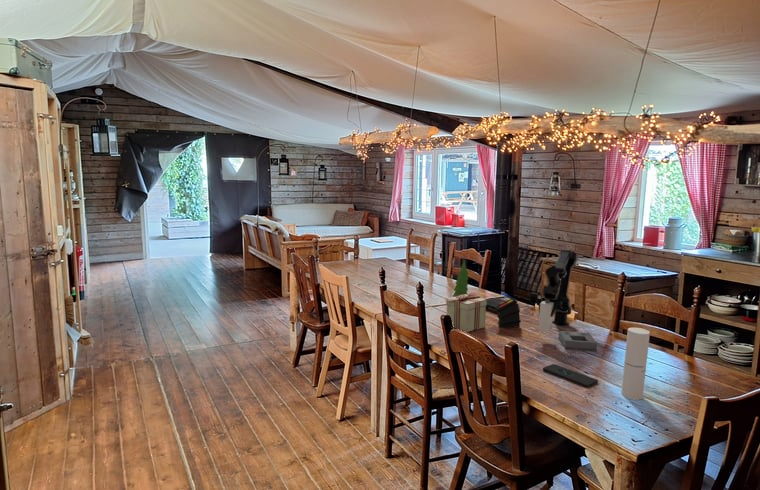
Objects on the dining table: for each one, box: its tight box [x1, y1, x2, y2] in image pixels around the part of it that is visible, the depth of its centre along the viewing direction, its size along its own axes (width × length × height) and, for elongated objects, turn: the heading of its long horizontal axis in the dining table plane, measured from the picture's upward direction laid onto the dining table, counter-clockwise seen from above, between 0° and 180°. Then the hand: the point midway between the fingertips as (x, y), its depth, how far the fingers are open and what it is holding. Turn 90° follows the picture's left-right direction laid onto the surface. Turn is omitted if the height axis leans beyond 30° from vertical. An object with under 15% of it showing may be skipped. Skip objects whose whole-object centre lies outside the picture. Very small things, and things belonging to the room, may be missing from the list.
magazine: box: [495, 297, 522, 329], centre depth 262 cm, size 4×13×15 cm, turn 103°
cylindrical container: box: [620, 327, 651, 401], centre depth 184 cm, size 7×7×25 cm
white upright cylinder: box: [537, 299, 554, 332], centre depth 241 cm, size 5×5×15 cm
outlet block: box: [558, 330, 598, 352], centre depth 238 cm, size 14×14×4 cm
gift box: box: [444, 292, 488, 333], centre depth 261 cm, size 17×18×17 cm
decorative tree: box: [452, 259, 469, 297], centre depth 290 cm, size 10×9×30 cm
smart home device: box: [542, 363, 599, 389], centre depth 202 cm, size 8×2×20 cm
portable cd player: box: [486, 297, 520, 315], centre depth 296 cm, size 16×17×4 cm
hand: (545, 315), depth 240 cm, fingers closed on white upright cylinder, 5 cm apart
